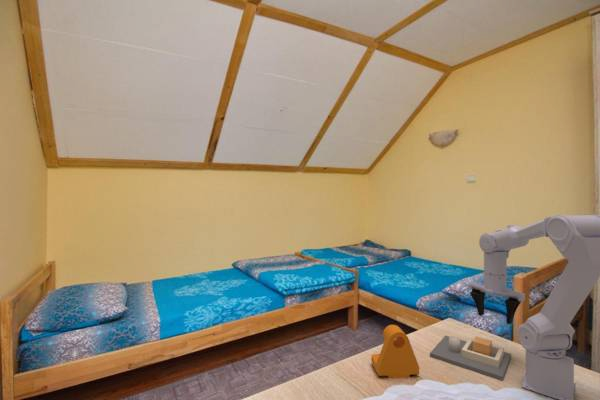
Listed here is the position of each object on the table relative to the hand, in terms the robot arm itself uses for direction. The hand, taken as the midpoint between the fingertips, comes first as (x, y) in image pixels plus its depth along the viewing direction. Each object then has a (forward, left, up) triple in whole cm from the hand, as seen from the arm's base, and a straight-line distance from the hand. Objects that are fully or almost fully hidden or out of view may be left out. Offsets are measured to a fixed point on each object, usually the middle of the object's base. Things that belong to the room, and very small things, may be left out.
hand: (494, 318), depth 91 cm
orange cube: (+2, +7, -9) cm, 12 cm away
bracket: (+19, +28, -11) cm, 35 cm away
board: (+5, +7, -10) cm, 13 cm away
